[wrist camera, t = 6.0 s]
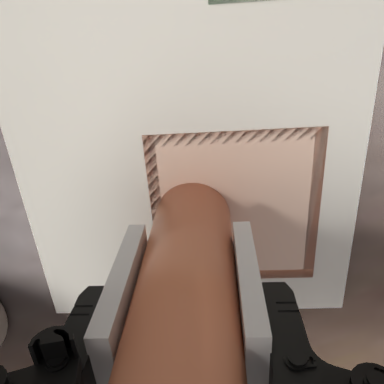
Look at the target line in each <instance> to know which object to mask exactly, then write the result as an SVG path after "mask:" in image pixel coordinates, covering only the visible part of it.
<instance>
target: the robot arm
mask: <svg viewBox="0 0 384 384" xmlns="http://www.w3.org/2000/svg"><path fill="white" fill-rule="evenodd" d="M146 246H147V235H146V227H145V224H141V225H129V226H128V228H127V231H126V233H125V236H124V238H123V241H122V243H121V246H120V248H119V251H118V253H117V256H116V258H115V261H114V263H113V266H112V268H111V271H110V273H109V276H108V278H107V281H106V283H105V286H88V287H87V288H86V289H85V290H84V291H83V292H82V293H81V294H80V295H79V296H78V298H77V300H76V302H75V304H74V307H73V309H72V311H71V313H70V316H69V317H68V319H67V321H66V323H65V325H64V326H53V327H50V328H47V329H45V330H43V331H41V332H40V333H38V334H37V335H36V336H35V337H34V338H33V339H32V340H31V342H30V344H29V345H28V348H29V351H30V354H31V357H32V359H33V362H34V365H33V366H30V367H27V368H24V369H20V370H17V371H13V372H10V373H7V371H6V369H5V368H4V367H3V366H1V365H0V384H108V382H109V378H110V375H111V371H112V367H113V364H114V360H115V357H116V353H117V349H118V346H119V342H120V339H121V335H122V332H123V328H124V324H125V321H126V317H127V314H128V310H129V307H130V303H131V299H132V296H133V292H134V289H135V285H136V281H137V278H138V274H139V271H140V267H141V264H142V260H143V256H144V253H145V249H146ZM233 249H234V258H235V268H236V278H237V287H238V297H239V307H240V317H241V326H242V336H243V346H244V355H245V365H246V375H247V384H384V367H383V366H381V365H378V364H375V363H367V362H366V363H362V364H358V365H357V366H356V367H354V368H353V369H352V371H351V370H347V369H343V368H340V367H336V366H333V365H331V364H328V363H326V362H325V361H323V360H321V359H320V358H319V357H318V356H317V355H316V354H315V353H314V351H313V350H312V349H311V346H310V344H309V341H308V338H307V334H306V331H305V328H304V324H303V321H302V318H301V315H300V312H299V308H298V305H297V302H296V298H295V295H294V292H293V290H292V289H291V288H290V287H289V286H288V285H287V284H286V282H261V276H260V271H259V266H258V261H257V256H256V251H255V246H254V240H253V235H252V230H251V225H250V221H244V222H233Z"/></svg>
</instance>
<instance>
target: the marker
mask: <svg viewBox="0 0 384 384" xmlns="http://www.w3.org/2000/svg"><path fill="white" fill-rule="evenodd" d="M108 384H247V375H246V365H245V355H244V346H243V336H242V326H241V317H240V307H239V297H238V287H237V278H236V268H235V258H234V249H233V239H232V229H231V220H230V210H229V207H228V204H227V202H226V200H225V199H224V197H223V196H222V195H221V194H220V193H219V192H218V191H216V190H215V189H213V188H211V187H210V186H207V185H204V184H200V183H185V184H180V185H178V186H175V187H173V188H172V189H170V190H169V191H167V192H166V193H165V194H164V195H163V197H162V198H161V200H160V201H159V204H158V206H157V210H156V213H155V217H154V221H153V224H152V228H151V231H150V235H149V238H148V242H147V246H146V249H145V253H144V256H143V260H142V264H141V267H140V271H139V274H138V278H137V281H136V285H135V289H134V292H133V296H132V299H131V303H130V307H129V310H128V314H127V317H126V321H125V324H124V328H123V332H122V335H121V339H120V342H119V346H118V349H117V353H116V357H115V360H114V364H113V367H112V371H111V375H110V378H109V382H108Z"/></svg>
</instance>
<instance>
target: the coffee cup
mask: <svg viewBox="0 0 384 384" xmlns="http://www.w3.org/2000/svg"><path fill="white" fill-rule="evenodd" d="M7 329H8V321H7V315H6V312H5V310H4V307H3V306H2V304H1V302H0V347H1V345H2V343H3V341H4V339H5V337H6V334H7Z"/></svg>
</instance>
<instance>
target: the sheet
mask: <svg viewBox="0 0 384 384" xmlns="http://www.w3.org/2000/svg"><path fill="white" fill-rule="evenodd" d="M383 47H384V0H0V127H1V130H2V133H3V137H4V140H5V143H6V147H7V150H8V153H9V157H10V160H11V163H12V167H13V170H14V173H15V177H16V180H17V183H18V187H19V190H20V193H21V197H22V200H23V203H24V207H25V210H26V213H27V217H28V220H29V223H30V227H31V230H32V233H33V237H34V240H35V243H36V247H37V250H38V253H39V257H40V260H41V263H42V267H43V270H44V273H45V277H46V280H47V283H48V287H49V290H50V293H51V297H52V300H53V303H54V307H55V310H56V313H71V311H72V309H73V307H74V304H75V302H76V300H77V298H78V296H79V295H80V294H81V293H82V292H83V291H84V290H85V289H86V288H87V287H88V286H105V283H106V281H107V278H108V276H109V273H110V271H111V268H112V266H113V263H114V261H115V258H116V256H117V253H118V251H119V248H120V246H121V243H122V241H123V238H124V236H125V233H126V231H127V228H128V226H129V225H141V224H145V227H146V235H147V242H148V238H149V235H150V231H151V228H152V224H153V221H154V217H155V213H156V210H157V206H158V204H159V201H160V200H161V198H162V197H163V195H164V194H165V193H166V192H167V191H169V190H170V189H172V188H173V187H175V186H178V185H180V184H185V183H200V184H204V185H207V186H210V187H211V188H213V189H215V190H216V191H218V192H219V193H220V194H221V195H222V196H223V197H224V199H225V200H226V202H227V204H228V207H229V210H230V220H231V229H232V239H233V222H244V221H250V225H251V230H252V235H253V240H254V246H255V251H256V256H257V261H258V266H259V271H260V276H261V282H286V284H287V285H288V286H289V287H290V288H291V289H292V290H293V292H294V295H295V298H296V302H297V305H298V308H299V309H311V308H342V305H343V299H344V293H345V286H346V280H347V274H348V268H349V261H350V255H351V249H352V242H353V236H354V230H355V223H356V217H357V211H358V204H359V198H360V192H361V186H362V179H363V173H364V167H365V160H366V154H367V148H368V141H369V135H370V129H371V122H372V116H373V110H374V104H375V97H376V91H377V85H378V78H379V72H380V66H381V59H382V53H383Z"/></svg>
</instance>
